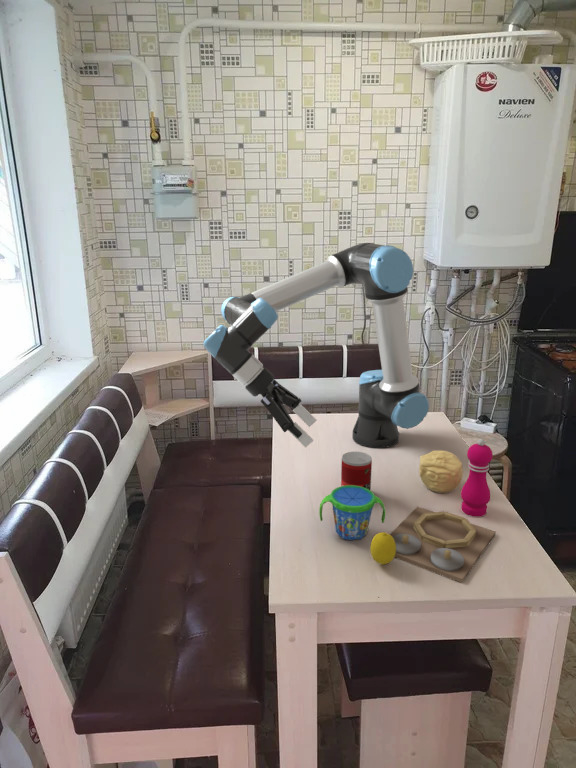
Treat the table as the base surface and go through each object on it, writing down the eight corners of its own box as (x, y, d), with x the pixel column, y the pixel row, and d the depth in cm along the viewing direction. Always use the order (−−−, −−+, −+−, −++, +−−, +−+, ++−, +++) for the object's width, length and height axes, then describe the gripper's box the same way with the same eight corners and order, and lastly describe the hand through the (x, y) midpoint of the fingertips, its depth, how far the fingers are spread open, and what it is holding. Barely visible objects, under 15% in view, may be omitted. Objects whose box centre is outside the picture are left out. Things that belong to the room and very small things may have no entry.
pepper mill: (453, 509, 152) (460, 438, 146) (469, 500, 156) (477, 430, 150) (478, 521, 147) (486, 447, 140) (494, 511, 151) (502, 439, 145)
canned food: (369, 502, 156) (370, 465, 152) (339, 499, 157) (340, 462, 154) (371, 488, 163) (372, 452, 159) (342, 486, 164) (343, 450, 161)
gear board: (417, 509, 152) (418, 497, 151) (495, 535, 141) (496, 522, 140) (377, 550, 135) (377, 537, 134) (462, 583, 124) (463, 568, 123)
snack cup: (384, 523, 146) (386, 486, 143) (384, 548, 136) (386, 509, 133) (321, 518, 148) (321, 482, 145) (316, 542, 139) (317, 504, 135)
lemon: (399, 563, 131) (401, 532, 128) (386, 575, 127) (387, 543, 124) (378, 553, 134) (380, 522, 132) (364, 564, 130) (366, 533, 128)
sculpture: (414, 492, 161) (416, 456, 157) (424, 473, 171) (426, 439, 168) (457, 501, 156) (460, 464, 153) (464, 481, 167) (468, 446, 163)
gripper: (251, 371, 165) (304, 424, 168) (235, 402, 141) (296, 462, 144) (270, 354, 163) (323, 407, 166) (256, 382, 139) (319, 443, 142)
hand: (311, 433), depth 155 cm, fingers open, 13 cm apart
